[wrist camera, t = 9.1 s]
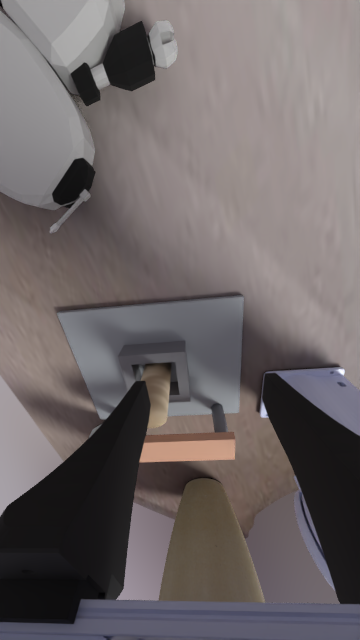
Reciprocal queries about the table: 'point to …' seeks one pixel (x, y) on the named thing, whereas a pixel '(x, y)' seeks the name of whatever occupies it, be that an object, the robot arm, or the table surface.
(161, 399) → the peg
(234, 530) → the plant pot
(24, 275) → the table surface
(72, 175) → the robot toy
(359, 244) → the table surface
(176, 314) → the socket station
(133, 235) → the table surface
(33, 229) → the table surface
